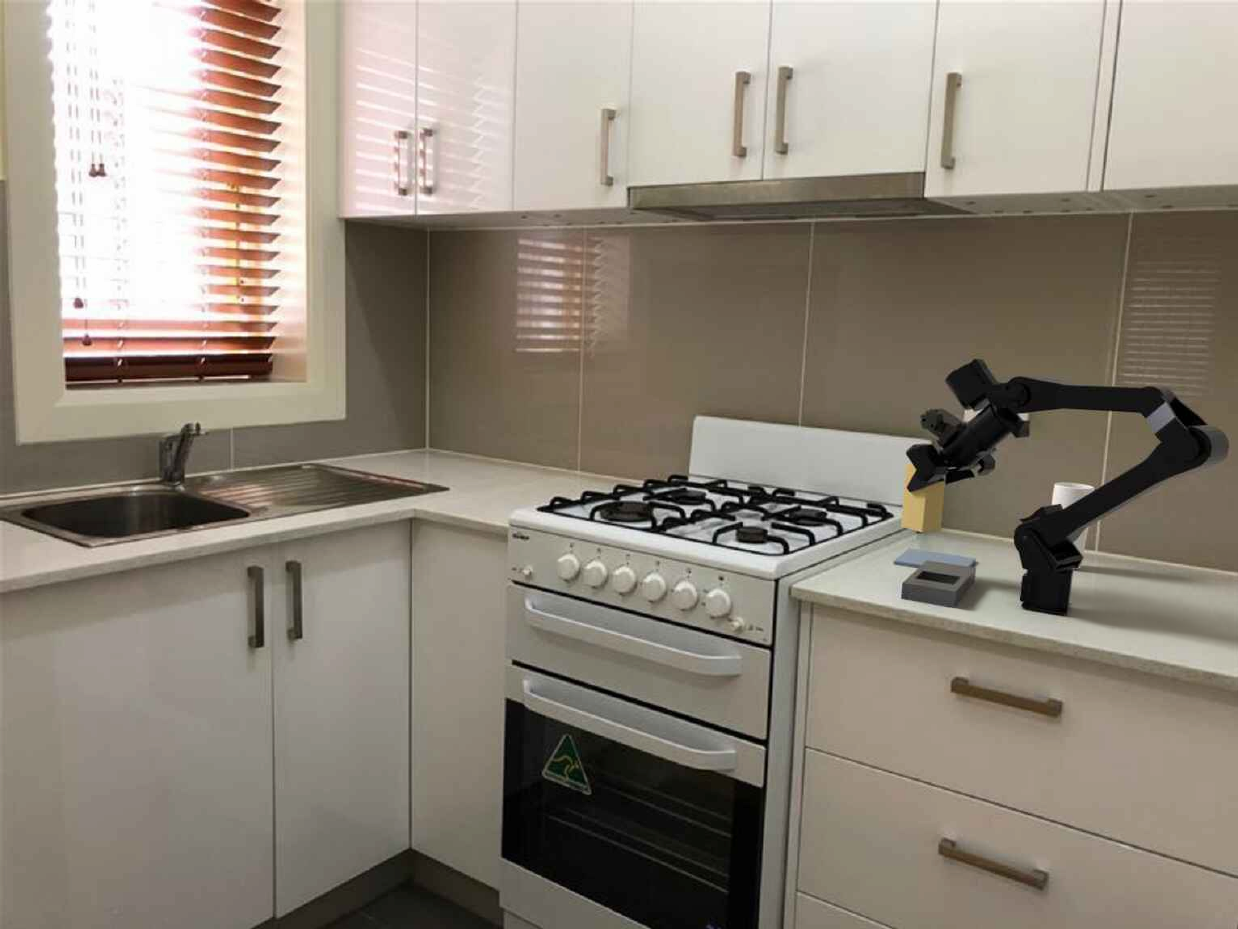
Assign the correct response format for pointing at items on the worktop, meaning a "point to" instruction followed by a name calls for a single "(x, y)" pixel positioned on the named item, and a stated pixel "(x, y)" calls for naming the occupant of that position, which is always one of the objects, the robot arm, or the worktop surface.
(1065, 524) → the robot arm
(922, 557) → the slate mat
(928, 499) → the mustard block
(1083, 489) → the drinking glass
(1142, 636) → the worktop surface
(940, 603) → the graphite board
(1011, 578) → the worktop surface
